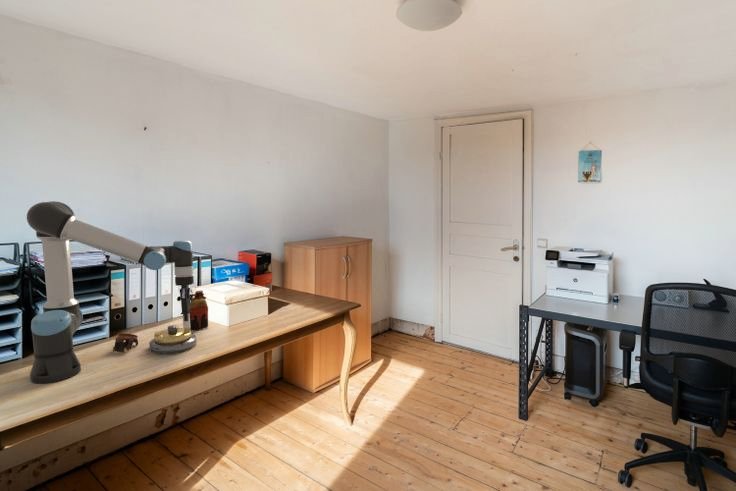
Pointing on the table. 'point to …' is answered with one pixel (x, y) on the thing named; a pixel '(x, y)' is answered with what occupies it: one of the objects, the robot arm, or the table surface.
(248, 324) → the table surface
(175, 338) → the gold lug disc
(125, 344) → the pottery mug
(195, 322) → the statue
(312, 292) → the table surface
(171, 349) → the base
